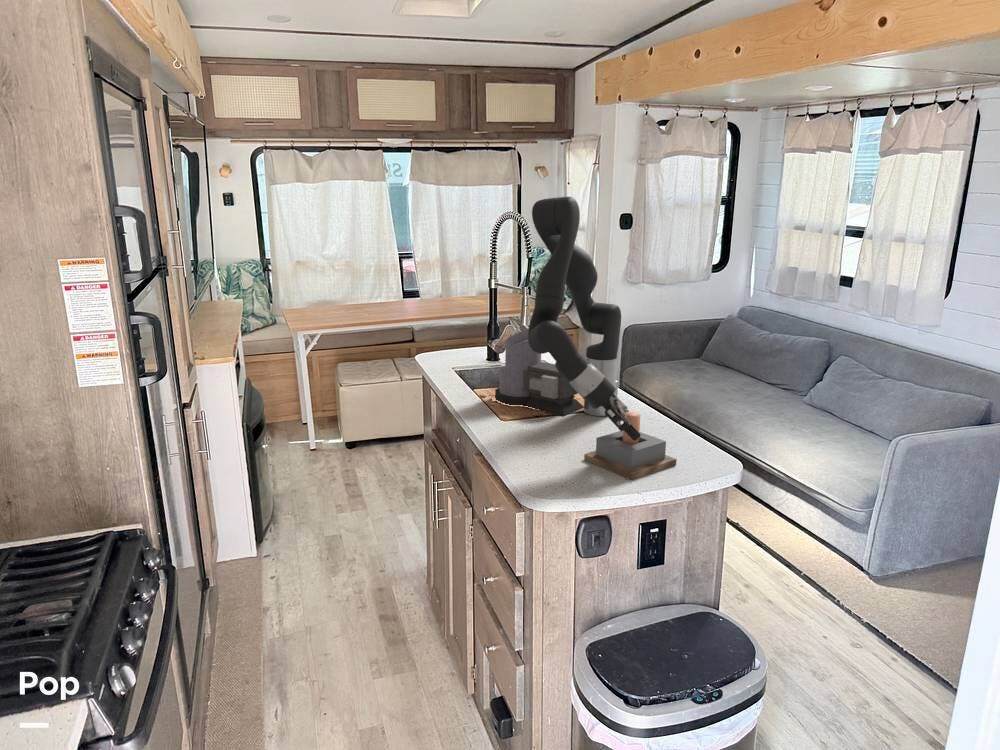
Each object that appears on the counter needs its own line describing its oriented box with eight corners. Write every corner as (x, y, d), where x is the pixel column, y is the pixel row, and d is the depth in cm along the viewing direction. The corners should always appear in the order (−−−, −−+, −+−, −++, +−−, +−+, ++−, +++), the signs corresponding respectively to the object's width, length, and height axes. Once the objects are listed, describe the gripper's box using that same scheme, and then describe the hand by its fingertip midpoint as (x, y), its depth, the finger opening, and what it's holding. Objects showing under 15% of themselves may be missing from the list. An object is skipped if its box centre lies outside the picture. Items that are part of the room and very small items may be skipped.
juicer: (481, 400, 229) (481, 325, 223) (511, 389, 242) (512, 318, 235) (560, 418, 212) (562, 337, 205) (588, 406, 224) (591, 329, 218)
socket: (628, 444, 186) (629, 428, 185) (664, 458, 177) (666, 441, 176) (595, 454, 179) (596, 437, 178) (631, 469, 170) (632, 451, 169)
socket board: (628, 446, 189) (628, 441, 189) (676, 464, 177) (676, 459, 176) (584, 459, 180) (584, 453, 179) (631, 479, 167) (631, 473, 167)
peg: (629, 452, 181) (631, 410, 178) (641, 457, 177) (643, 414, 175) (618, 455, 178) (620, 413, 175) (630, 460, 175) (632, 418, 172)
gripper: (603, 383, 167) (650, 432, 168) (603, 368, 180) (646, 413, 182) (579, 403, 169) (626, 452, 170) (581, 387, 182) (624, 432, 184)
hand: (637, 432), depth 176 cm, fingers open, 8 cm apart
